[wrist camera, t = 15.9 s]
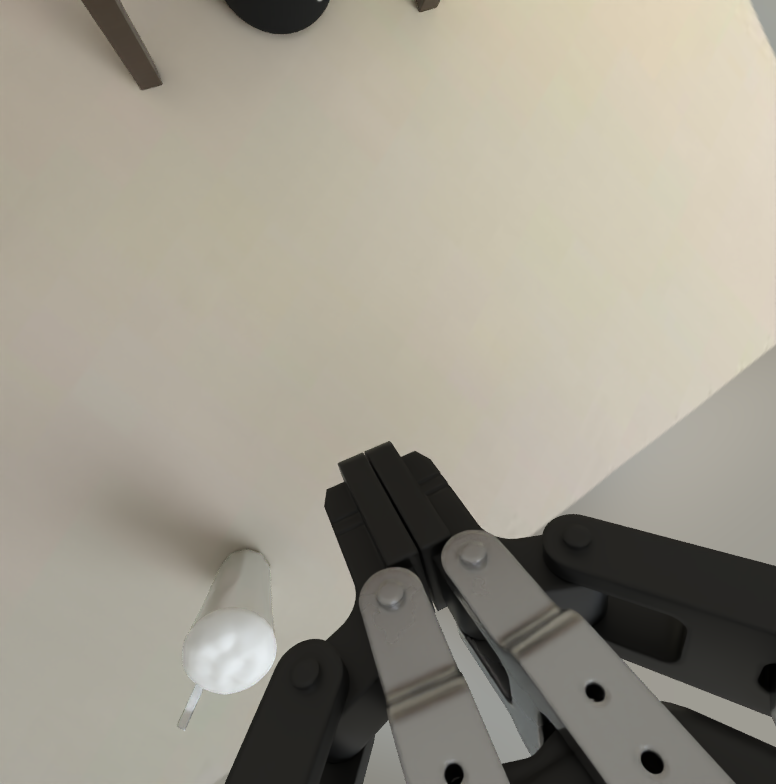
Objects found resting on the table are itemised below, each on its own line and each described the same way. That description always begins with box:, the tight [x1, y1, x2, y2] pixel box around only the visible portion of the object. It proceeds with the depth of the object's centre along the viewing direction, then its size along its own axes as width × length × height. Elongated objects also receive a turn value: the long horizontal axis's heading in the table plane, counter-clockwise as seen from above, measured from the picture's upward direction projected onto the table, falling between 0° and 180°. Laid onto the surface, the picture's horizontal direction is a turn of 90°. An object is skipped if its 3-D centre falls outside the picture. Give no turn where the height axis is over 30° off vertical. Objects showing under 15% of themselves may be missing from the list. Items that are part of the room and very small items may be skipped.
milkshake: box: [177, 549, 276, 730], centre depth 28 cm, size 5×5×10 cm
